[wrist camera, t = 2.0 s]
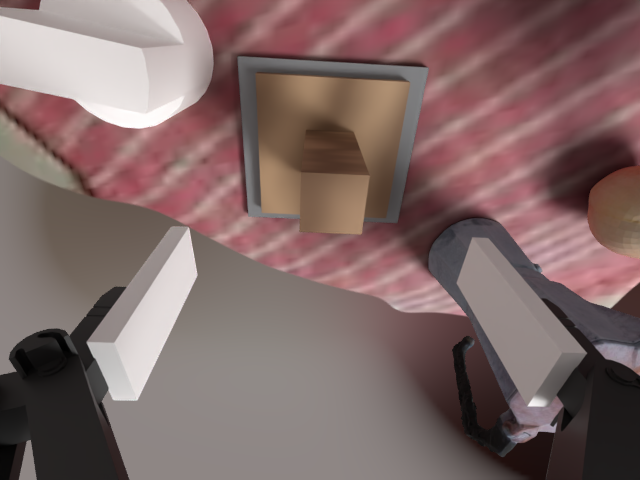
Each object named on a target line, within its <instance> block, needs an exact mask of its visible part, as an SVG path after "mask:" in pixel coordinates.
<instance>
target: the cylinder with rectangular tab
mask: <svg viewBox="0 0 640 480" xmlns="http://www.w3.org/2000/svg"><path fill="white" fill-rule="evenodd" d="M213 66H214V60H213V48H212V44H211V41H210V38H209V35H208V31H207V29H206V27H205V25H204V24H203V22H202V20H201V18H200V16H199V15H198V13H197V12H196V11H195V9H194V8H193V7H192V6H191V5H190V4H189V3H188V1H187V0H41V2H40V7H39V10H30V9H18V8H6V7H0V84H4V85H8V86H13V87H18V88H23V89H28V90H32V91H37V92H42V93H47V94H52V95H56V96H61V97H66V98H71V99H74V100H75V101H76V102H78V103H79V104H80V105H81V106H82V107H83V108H85V109H86V110H87V111H88V112H90V113H92V114H93V115H95V116H97V117H99V118H100V119H102V120H104V121H106V122H109V123H112V124H115V125H118V126H121V127H127V128H145V127H150V126H155V125H158V124H159V123H161V122H163V121H165V120H166V119H168V118H170V117H172V116H174V115H175V114H177V113H179V112H180V111H182V110H184V109H186V108H187V107H189V106H191V105H193V104H194V103H196V102H197V101H198V100H199V99H200V98H201V97H202V96H203V95H204V93H205V92H206V90H207V88H208V86H209V84H210V81H211V79H212V73H213Z"/></svg>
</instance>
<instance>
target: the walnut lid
mask: <svg viewBox="0 0 640 480" xmlns="http://www.w3.org/2000/svg"><path fill="white" fill-rule="evenodd" d="M255 75H256V97H257V119H258V141H259V164H260V186H261V208H262V213H276V214H299V215H300V232H315V233H339V234H362V228H363V221H364V217H367V218H386V216H387V211H388V205H389V199H390V194H391V188H392V183H393V177H394V172H395V166H396V160H397V155H398V149H399V144H400V138H401V133H402V127H403V121H404V116H405V110H406V105H407V99H408V94H409V88H410V82H409V81H404V80H387V79H370V78H352V77H335V76H318V75H301V74H284V73H266V72H257V73H255Z"/></svg>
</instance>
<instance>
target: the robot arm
mask: <svg viewBox="0 0 640 480" xmlns="http://www.w3.org/2000/svg"><path fill="white" fill-rule="evenodd" d="M196 277H197V270H196V264H195V259H194V253H193V247H192V242H191V236H190V231H189V227H176V226H175V227H174V226H172V227H171V228H170V229H169V231H168V232H167V233H166V235H165V236H164V237H163V239H162V240H161V241H160V243H159V244H158V246H157V247H156V248H155V250H154V251H153V252H152V254H151V255H150V256H149V258H148V259H147V260H146V262H145V263H144V265H143V266H142V267H141V269H140V270H139V271H138V273H137V274H136V276H135V277H134V278H133V280H132V281H131V282H130V284H129V285H128V286H127V287H114V288H112V289H111V290H110V291H108V292H107V293H105V294H104V295H102V296H101V297H100V299H99V300H98V301H97V302H96V304H95V305H94V307H93V308H92V309H91V310H90V311H89V313H88V314H87V316H86V317H84V319H83V320H82V321H81V322H80V323H79V325H78V326H77V327H76V328H75V330H74V331H73V332H72V333H71V335H70V336H69V335H68V334H67V332H66V331H65V330H61V329H47V330H43V331H40V332H36V333H34V334H32V335H30V336H28V337H26V338H25V339H23V340H22V341H21V342H19V343H18V344H17V345H16V346H15V347H14V348H13V350H12V351H11V352H10V356H9V360H10V361H11V363H12V364H13V366H14V368H15V369H16V371H17V372H12V373H8V374H3V375H0V480H19V476H20V471H21V466H22V461H23V456H24V451H25V446H26V442H27V441H28V440H31V443H32V450H33V456H34V464H35V470H36V477H37V480H129V477H128V474H127V471H126V468H125V466H124V463H123V460H122V457H121V454H120V451H119V448H118V446H117V443H116V440H115V437H114V434H113V431H112V428H111V425H110V422H109V419H108V416H107V413H106V411H105V408H104V405H103V403H102V400H103V398H104V396H105V394H106V393H107V391H108V390H109V392H110V394H111V396H112V398H113V400H134V401H137V400H138V398H139V396H140V394H141V392H142V390H143V388H144V386H145V383H146V381H147V379H148V377H149V375H150V373H151V371H152V368H153V367H154V365H155V362H156V360H157V358H158V356H159V354H160V352H161V350H162V348H163V346H164V344H165V342H166V340H167V338H168V336H169V333H170V331H171V329H172V327H173V325H174V323H175V321H176V319H177V317H178V315H179V312H180V310H181V308H182V306H183V304H184V302H185V300H186V298H187V296H188V294H189V292H190V290H191V288H192V286H193V283H194V281H195V279H196ZM457 285H458V287H459V288H460V290H461V292H462V294H463V295H464V297H465V299H466V300H467V302H468V304H469V306H470V307H471V309H472V311H473V313H474V314H475V316H476V318H477V320H478V321H479V323H480V325H481V327H482V328H483V330H484V332H485V334H486V335H487V337H488V339H489V340H490V342H491V344H492V346H493V347H494V349H495V351H496V353H497V354H498V356H499V358H500V360H501V361H502V363H503V365H504V367H505V368H506V370H507V372H508V374H509V375H510V377H511V379H512V380H513V382H514V384H515V386H516V387H517V389H518V391H519V393H520V394H521V396H522V398H523V400H524V401H525V403H526V405H527V406H538V407H549V406H550V405H551V403H552V402H553V400H554V399H555V397H556V396H557V397H558V398H559V400H560V401H561V403H562V404H563V405H564V406H563V407H562V408H561V410H560V411H559V412H558V414H557V415H556V416H555V418H554V419H553V420H552V422H551V424H550V425H551V426H552V427H554V426H555V424H556V423H557V426H556V431H555V436H554V441H553V446H552V451H551V456H550V461H549V466H548V471H547V476H546V480H640V375H638V374H637V373H636V372H634V371H633V370H632V369H631V368H629V367H627V366H625V365H623V364H622V363H619V362H616V361H613V360H608V359H605V358H604V356H603V355H602V354H601V353H600V352H599V351H598V350H597V349H596V348H595V346H594V345H593V344H592V343H591V342H590V341H589V340H588V339H587V338H586V336H585V335H584V334H583V333H582V332H581V331H580V330H579V329H577V328H576V327H577V326H576V325H575V324H574V323H573V322H572V321H571V320H569V318H568V316H567V315H566V314H565V313H564V312H563V311H562V310H561V309H560V308H559V307H558V306H557V305H555V304H554V303H552V302H551V301H549V300H548V299H547V298H539V297H538V295H537V294H536V293H535V292H534V291H533V290H532V288H531V287H530V286H529V285H528V284H527V283H526V281H525V280H524V279H523V278H522V277H521V276H520V274H519V273H518V272H517V271H516V270H515V269H514V267H513V266H512V265H511V264H510V263H509V262H508V260H507V259H506V258H505V257H504V256H503V255H502V253H501V252H500V251H499V250H498V249H497V248H496V246H495V245H494V244H493V243H492V242H491V241H490V239H489V238H476V237H472V240H471V243H470V246H469V249H468V251H467V254H466V257H465V260H464V263H463V266H462V269H461V272H460V275H459V277H458V280H457Z"/></svg>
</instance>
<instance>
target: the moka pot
mask: <svg viewBox="0 0 640 480" xmlns="http://www.w3.org/2000/svg"><path fill="white" fill-rule="evenodd" d="M472 237H476V238H489V239H490V241H491V242H492V243H493V244H494V245H495V246H496V248H497V249H498V250H499V251H500V252H501V253H502V255H503V256H504V257H505V258H506V259H507V260H508V262H509V263H510V264H511V265H512V266H513V267H514V269H515V270H516V271H517V272H518V273H519V274H520V276H521V277H522V278H523V279H524V280H525V281H526V283H527V284H528V285H529V286H530V287H531V288H532V290H533V291H534V292H535V293H536V294H537V295H538V297H539V298H547V299H548V300H549V301H551V302H552V303H554V304H555V305H557V306H558V307H559V308H560V309H561V310H562V311H563V312H564V313H565V314H566V315H567V316H568V318H569V320H571V321H572V322H573V323H574V324H575V325H576V326H577V327H576V328H577V329H579V330H580V331H581V332H582V333H583V334H584V335H585V336H586V338H587V339H588V340H589V341H590V342H591V343H592V344H593V345H594V346H595V348H596V349H597V350H598V351H599V352H600V353H601V354H602V355H603V356H604V358H605V359H608V360H613V361H616V362H619V363H622V364H623V365H625V366H627V367H629V368H631V369H632V370H633V371H634V372H636V373H637V374H638V375H640V318H637V317H634V316H631V315H627V314H625V313H622V312H619V311H615V310H612V309H610V308H607V307H604V306H600V305H597V304H593V303H590V302H588V301H586V300H584V299H583V298H581V297H580V296H579V295H577V294H576V293H574V292H573V291H571V290H570V289H568V288H567V287H565V286H564V285H562V284H561V283H557V282H553V281H549V280H548V279H547V278H546V277H545V276H544V275H543V274H541V272H542V270H541V268H540V266H539V265H538V264H533V263H532V262H531V261H530V260H529V259H528V258H527V256H526V255H525V254H524V252H523V251H522V250H521V248H520V247H519V246H518V245H517V243H516V242H515V241H514V239H513V238H512V237H511V236H510V234H509V233H508V232H507V231H506V229H505V228H504V227H503V226H502V225H501V224H500V223H498V222H495V221H492V220H489V219H484V218H472V219H467V220H464V221H461V222H458V223H456V224H454V225H452V226H450V227H449V228H447V229H446V230H445V231H444V232H443V233H442V234H441V235H440V236H439V237H438V238H437V239H436V240H435V242H434V243H433V245H432V247H431V250H430V252H429V263H428V268H429V270H430V272H431V273H432V274H433V276H434V277H435V278H436V279H437V280H438V282H439V283H440V284H441V285H442V286H443V288H444V289H445V290H446V291H447V292H448V293H449V294H450V296H451V297H452V298H453V299H454V300H455V301H456V302H457V304H458V305H459V306H460V307H461V308H462V310H463V311H464V312H465V313H466V315H467V316H468V317H469V318H470V320H471V322H472V325H473V327H474V330H475V332H476V334H477V336H478V339H479V341H480V343H481V345H482V347H483V350H484V352H485V354H486V356H487V358H488V361H489V363H490V365H491V368H492V370H493V372H494V374H495V376H496V379H497V381H498V384H499V386H500V388H501V390H502V392H503V394H504V397H505V399H506V401H507V403H508V404H509V406H510V409H509V410H508V411H507V412H505V413H503V414H501V415H500V416H499V418H498V419H497V422H496V424H495V426H493V427H492V428H491V429H489V430H486V429H484V428H482V427H481V426H479V425H478V423H477V417H476V415H477V413H476V406H475V403H473V397H472V393H471V390H470V388H471V387H470V385H469V384H470V383H469V379H468V375H467V372H466V365H465V353H466V351H467V350H468V349H469V348H470V347H472V346H473V345H474V339H473V338H471V337H470V336H466V337H464V338H463V340H462V341H461V342H459V343H458V344H456V345H455V346H454V348H453V349H452V351H453V357H454V368H455V372H456V380H457V386H458V390H459V400H460V405H461V411H462V417H461V419H462V420H463V421H462V424H463V427H464V432H465V434H466V435H467V436H469V437H470V438H471V439H473V440H476V441H478V443H479V444H480V445H481V446H487V447H488V448H489V449H490V451H491V452H493V451H494V452H496V453H497V454H499V455H500V456H502V457H504V456H505V455H506V454H507V453H508V452H509V451H511V450H512V449H513V447H514V446H515V445H516V444H517V442H518V443H524V442H526V441H528V440H529V439H531V438H533V437H535V436H536V435H537V433H538V431H543V432H553V433H555V431H556V426H557V423H556V424H555V426H554V427H552V426H551V425H550V424H551V422H552V420H553V419H554V418H555V416H556V415H557V414H558V412H559V411H560V410H561V408H562V407H563V406H564V405H563V404H562V403H561V401H560V400H559V398H558V397H557V396H556V397H555V399H554V400H553V402H552V403H551V405H550V406H549V407H538V406H527V405H526V403H525V401H524V400H523V398H522V396H521V394H520V393H519V391H518V389H517V387H516V386H515V384H514V382H513V380H512V379H511V377H510V375H509V374H508V372H507V370H506V368H505V367H504V365H503V363H502V361H501V360H500V358H499V356H498V354H497V353H496V351H495V349H494V347H493V346H492V344H491V342H490V340H489V339H488V337H487V335H486V334H485V332H484V330H483V328H482V327H481V325H480V323H479V321H478V320H477V318H476V316H475V314H474V313H473V311H472V309H471V307H470V306H469V304H468V302H467V300H466V299H465V297H464V295H463V294H462V292H461V290H460V288H459V287H458V285H457V280H458V277H459V275H460V272H461V269H462V266H463V263H464V260H465V257H466V254H467V251H468V249H469V246H470V243H471V240H472Z"/></svg>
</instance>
